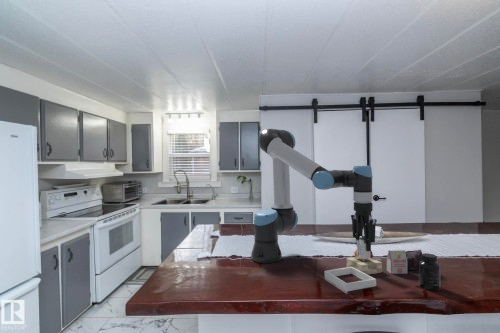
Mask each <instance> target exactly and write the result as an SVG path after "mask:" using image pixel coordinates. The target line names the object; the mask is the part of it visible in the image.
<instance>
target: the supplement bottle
mask: <svg viewBox="0 0 500 333" xmlns="http://www.w3.org/2000/svg"><path fill="white" fill-rule="evenodd" d="M418 284H419V286H420V288H422V289H424V290H425V291H426V290H427V291H432V292H437V291H439V290H441V266H440V264H439V262H438V257H437V254H433V253H427V252H425V253H422V261H420V262H419V271H418Z"/></svg>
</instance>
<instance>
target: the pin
mask: <svg viewBox="0 0 500 333" xmlns="http://www.w3.org/2000/svg"><path fill="white" fill-rule="evenodd" d="M364 242H365V237H364V235H362V236H359V261H361V262H368V258H367V259H364Z"/></svg>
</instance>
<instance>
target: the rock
mask: <svg viewBox="0 0 500 333" xmlns="http://www.w3.org/2000/svg"><path fill="white" fill-rule="evenodd" d="M405 253H406V258H407V269H408V271H418V272H419V262H420V261H422V254H423V251H422V250H421V249H414V250H405Z"/></svg>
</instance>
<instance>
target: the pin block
mask: <svg viewBox="0 0 500 333" xmlns="http://www.w3.org/2000/svg"><path fill="white" fill-rule="evenodd" d="M345 259H346V267H353V268H355V269H357V270H359V271H361V272H363V273H365V274H367V275H374V274H379V273H382V272H383V262H382V261H380V260H377V259H374V258H373V257H372V258H368V262H361V261H359V256H358V257H355V256H351V257H346V258H345Z"/></svg>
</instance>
